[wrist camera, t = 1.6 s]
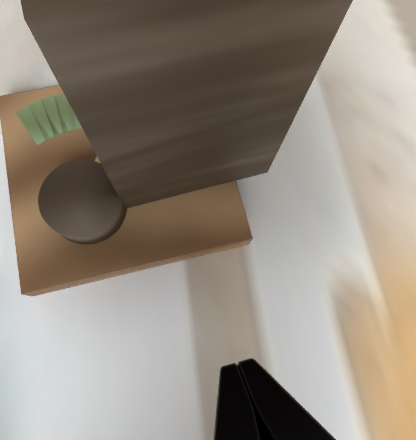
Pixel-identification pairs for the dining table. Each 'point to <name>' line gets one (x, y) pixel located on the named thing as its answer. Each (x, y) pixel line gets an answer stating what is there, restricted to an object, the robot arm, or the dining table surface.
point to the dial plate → (135, 216)
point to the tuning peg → (172, 95)
